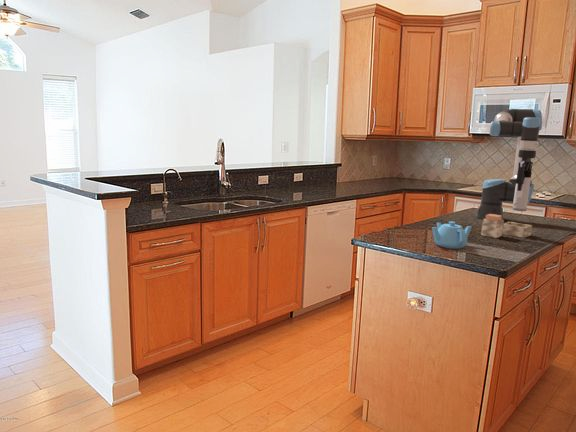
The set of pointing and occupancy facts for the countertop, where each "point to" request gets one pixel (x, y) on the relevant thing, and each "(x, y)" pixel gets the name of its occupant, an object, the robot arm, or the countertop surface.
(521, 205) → the travel mug
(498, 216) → the orange square panel
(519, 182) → the robot arm
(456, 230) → the teapot
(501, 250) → the countertop surface
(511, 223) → the dock
